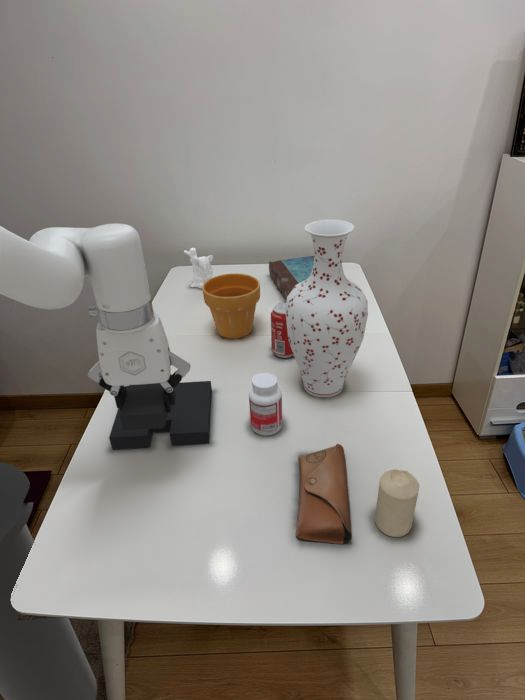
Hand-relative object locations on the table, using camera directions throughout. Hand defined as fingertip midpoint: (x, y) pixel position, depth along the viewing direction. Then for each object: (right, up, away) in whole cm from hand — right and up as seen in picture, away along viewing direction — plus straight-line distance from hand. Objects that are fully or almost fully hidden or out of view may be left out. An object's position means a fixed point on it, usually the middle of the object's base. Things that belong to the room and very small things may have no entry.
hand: (147, 407), depth 80 cm
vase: (+32, +2, +25) cm, 41 cm away
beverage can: (+24, +9, +37) cm, 45 cm away
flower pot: (+12, +14, +47) cm, 50 cm away
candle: (+39, -17, -5) cm, 43 cm away
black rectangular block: (0, 0, +2) cm, 2 cm away
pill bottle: (+20, -5, +15) cm, 25 cm away
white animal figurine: (0, +29, +71) cm, 77 cm away
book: (+32, +28, +68) cm, 80 cm away
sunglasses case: (+29, -15, 0) cm, 32 cm away
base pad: (-1, -4, +18) cm, 18 cm away
